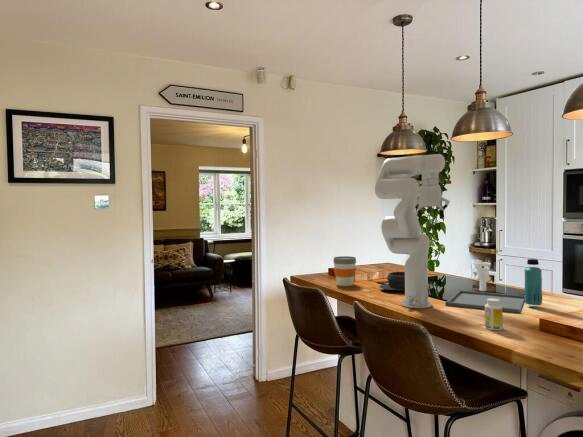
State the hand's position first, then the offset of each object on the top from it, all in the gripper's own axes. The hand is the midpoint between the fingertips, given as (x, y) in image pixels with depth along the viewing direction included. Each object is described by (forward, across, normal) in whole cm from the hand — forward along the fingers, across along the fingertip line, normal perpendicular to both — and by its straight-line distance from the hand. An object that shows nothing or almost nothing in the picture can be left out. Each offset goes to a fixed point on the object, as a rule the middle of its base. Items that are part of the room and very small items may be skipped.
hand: (430, 218), depth 199 cm
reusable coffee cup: (+37, -48, +6) cm, 61 cm away
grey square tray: (+37, +24, -5) cm, 44 cm away
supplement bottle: (+37, +32, -45) cm, 67 cm away
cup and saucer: (+37, -15, +5) cm, 40 cm away
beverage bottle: (+37, +42, -5) cm, 57 cm away
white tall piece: (+37, +20, +21) cm, 47 cm away
